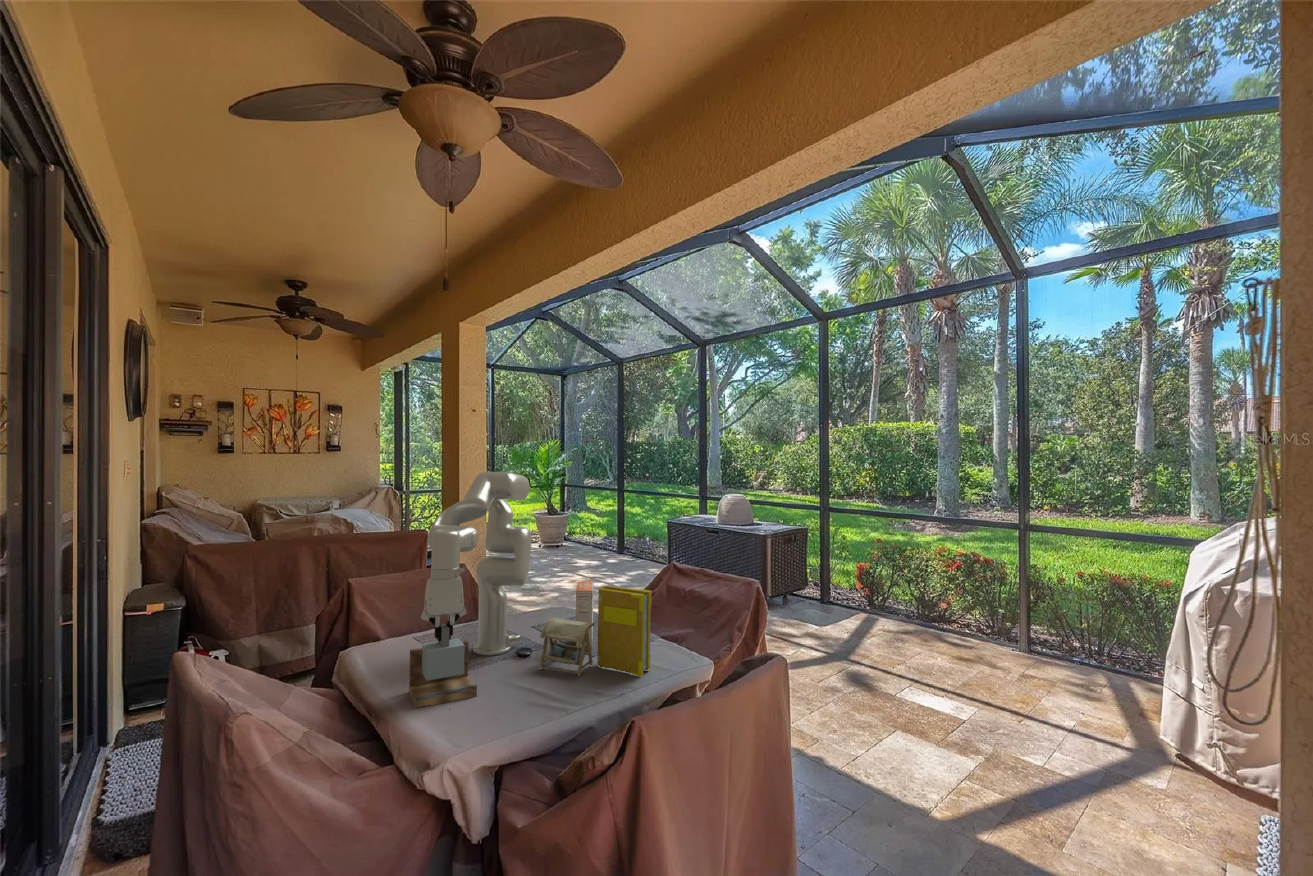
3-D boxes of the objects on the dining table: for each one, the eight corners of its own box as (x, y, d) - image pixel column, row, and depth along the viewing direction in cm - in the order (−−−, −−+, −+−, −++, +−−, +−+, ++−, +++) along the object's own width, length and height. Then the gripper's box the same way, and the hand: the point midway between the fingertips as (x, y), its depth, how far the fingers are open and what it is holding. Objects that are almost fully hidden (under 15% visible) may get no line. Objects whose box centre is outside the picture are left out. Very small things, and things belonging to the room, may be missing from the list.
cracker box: (576, 637, 215) (577, 580, 215) (593, 637, 216) (593, 580, 216) (574, 651, 201) (575, 590, 201) (592, 650, 202) (593, 590, 202)
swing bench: (538, 670, 184) (539, 623, 184) (553, 660, 193) (554, 615, 193) (580, 677, 179) (581, 629, 179) (594, 666, 188) (594, 620, 188)
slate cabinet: (458, 665, 170) (459, 621, 170) (463, 674, 164) (465, 627, 164) (421, 672, 165) (423, 625, 165) (426, 680, 159) (427, 632, 159)
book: (650, 669, 185) (651, 590, 186) (640, 677, 179) (642, 595, 180) (603, 660, 192) (605, 584, 193) (593, 667, 186) (594, 589, 187)
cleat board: (466, 681, 175) (467, 640, 175) (476, 696, 164) (477, 653, 164) (409, 692, 166) (409, 649, 166) (415, 708, 156) (416, 663, 156)
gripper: (470, 568, 173) (469, 631, 172) (413, 573, 164) (411, 639, 164) (477, 573, 166) (475, 638, 166) (417, 579, 158) (415, 647, 158)
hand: (443, 638), depth 165 cm, fingers closed on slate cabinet
